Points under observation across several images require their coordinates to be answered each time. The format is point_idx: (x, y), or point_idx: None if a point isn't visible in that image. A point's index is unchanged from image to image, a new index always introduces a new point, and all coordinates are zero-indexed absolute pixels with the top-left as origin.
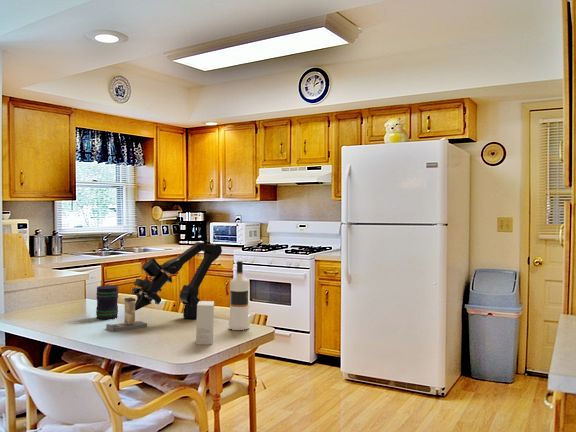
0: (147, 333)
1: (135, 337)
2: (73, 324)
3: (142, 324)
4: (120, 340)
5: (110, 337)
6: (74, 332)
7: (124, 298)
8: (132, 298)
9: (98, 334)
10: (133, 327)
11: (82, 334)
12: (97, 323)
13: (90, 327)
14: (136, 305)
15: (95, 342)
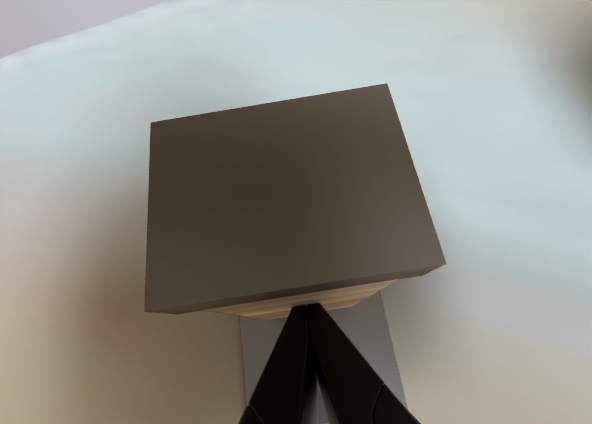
0: (36, 346)
1: (5, 236)
2: (553, 13)
3: (245, 389)
4: (13, 149)
5: (112, 120)
6: (334, 3)
7: (384, 90)
8: (226, 239)
9: (220, 83)
10: None
11: (267, 26)
12: (544, 123)
13: (426, 74)
14: (272, 359)
15: (72, 52)
